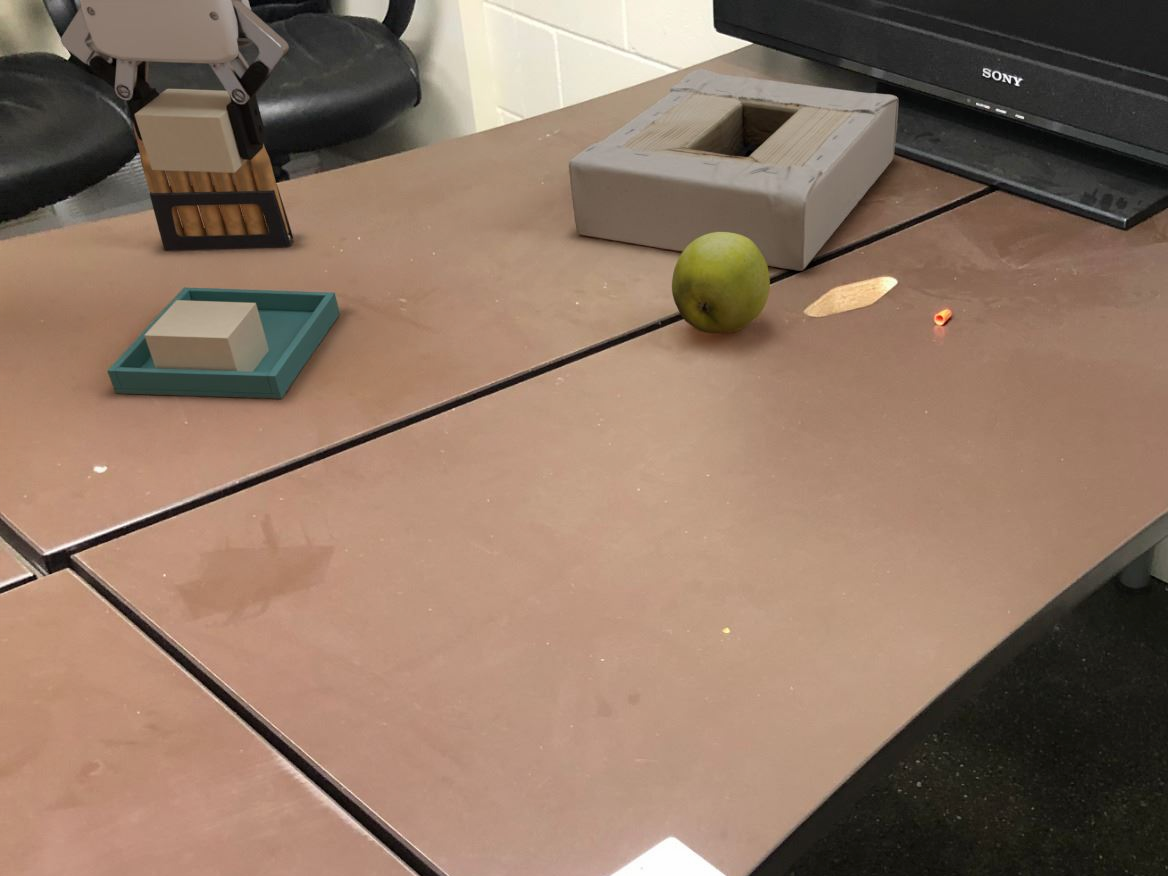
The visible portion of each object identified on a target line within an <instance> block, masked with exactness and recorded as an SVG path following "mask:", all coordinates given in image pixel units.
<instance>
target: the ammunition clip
mask: <svg viewBox="0 0 1168 876" xmlns="http://www.w3.org/2000/svg"><path fill="white" fill-rule="evenodd" d="M132 125H133V126H132V127H133V132H134V136H135V139H136V142H137V147H138V152H139V158H140V164H141V167H142V171H143V174H144V176H145V180H146V183H147V187H148V190H149V198H150V202H151V205H152V209H153V212H154V216H155V220H156V225H157V229H158V232H159V236H160V239H161V240H160V241H161V243H162V246H163V251H166V252H167V251H198V250H201V251H202V250H231V249H232V250H233V249H235V250H236V249H267V248H268V249H269V248H289V247H290V246H291V245H292V243H293V241H294V234H293V232H292V231H293V230H292V229H291V225H290V222H289V218H288V215H287V213H286V209H285V206H284V202H283V199H282V196H281V193H280V190H279V186H278V183H277V182H276V178H275V174H274V169H273V166H272V163H271V159H270V156H269V154H268V152H267V150H266V147H265V142H264V143H263V148H262V149H261V150H260V151H259V152H258V153H257V154H256V155H255V156H254V157H253V158H252V159H251V160H247V161H246V162H245V163H244V164H243V165H242V166H241V167H240V168H239V169H238V170H237V171H236V172H235V173H224V172H193V171H163V170H152V169H151V165H150V162H149V159H148V156H147V153H146V150H145V146H144V143H143V141H142V140H140V139H139V138H138V136H137V133H136V130H135V127H134V123H133V122H132Z"/></svg>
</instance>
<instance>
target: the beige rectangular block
mask: <svg viewBox="0 0 1168 876" xmlns="http://www.w3.org/2000/svg"><path fill="white" fill-rule="evenodd" d="M230 102H231V99H230V95H229V94H228V92H227V91H226V90H218V89H217V90H216V89H215V90H214V89H190V88H189V89H188V88H185V89H184V88H166V89H165V90H164V91H162V92H161V93H159V96H157V97H156V98H155V99H154V100H152V101H151V102H150V103H148V104H147V105H146V106H145V107H143V108H142V109H141V110H139V111H138V112H137V113H135V118H136V121H137V124H138V128H139V131H140V134H141V137H142V140H143V143H144V146H145V150H146V153H147V156H148V159H149V162H150V165H151V169H152V170H163V171H165V172H166V171H187V172H188V171H193V172H224V173H231V174H232V173H235V172H236V171H237V170H238V169H239V168H240V167H241V166H242V165H243V164H244V163H245V162H246V161H247V160H243V159H242V158H241V157H240V155H239V151H238V148H237V144H236V140H235V137H234V133H233V129H232V126H231V122H230V118H229V115H228V111H227V109H226V106H227V105H228V104H229V103H230Z"/></svg>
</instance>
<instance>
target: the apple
mask: <svg viewBox="0 0 1168 876" xmlns="http://www.w3.org/2000/svg"><path fill="white" fill-rule="evenodd" d="M672 273H673V274H672V280H671V293H672V298H673V301H674V304H675V306H676V308H677V310H678V313H679V314H680V316H681V318H682V319H683V320H684V321H685V322H686V323H687V324H688V325H690V326H691V327H693V328H694V329H695V330H697V331H699V332H701V333H704V334H715V335H716V334H720V335H721V334H729V333H733V332H736V331H739V330H741V329H742V328H744V327H746V326H747V325H749V324H750V323H752V322H753V321H755V320H756V319H757V318H758V317H759V316H760V314H761V313H762V311H763V310H764V308H765V307H766V304H767V301H768V298H769V295H770V292H771V291H770V290H771V279H770V272H769V266H767V263H766V261H765V259H764V257H763V255H762V253H761V252H760V250H759V249H758V247H757V246H756V245H755V244H754V243H753V242H752V241H751V240H750V239H749V238H747V237H745V236H742V235H739V234H735V233H729V232H714V233H709V234H706V235H703V236H701V237H699V238H697V239H695V240H694V241H693V242H691V243H690V244H689V245H688V246H687V247H686V248H685V249H684V251H681V254H680V255H679V257H678V259H677V261H676V264H675V266H674V270H673V272H672Z"/></svg>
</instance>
